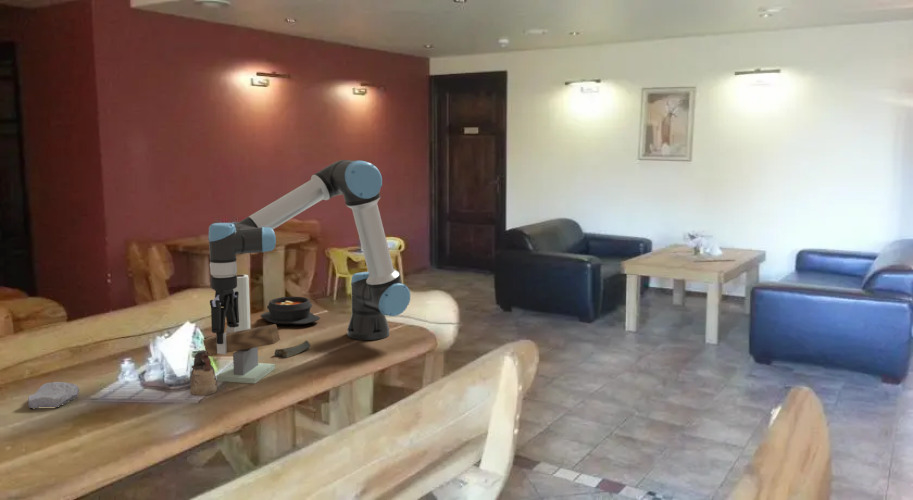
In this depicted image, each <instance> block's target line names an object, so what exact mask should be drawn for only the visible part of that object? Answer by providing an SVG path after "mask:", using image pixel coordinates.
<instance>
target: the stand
mask: <svg viewBox="0 0 913 500" xmlns="http://www.w3.org/2000/svg"><path fill="white" fill-rule="evenodd" d="M258 349H259V347H255V348H250V349H245V350H239V351H234V352H232V353H233V354H232V357H233V359H232V360H233V362H232V363H233V365H231V366H229V367H227V368H226V369H225V370H223V371H222V372H220V373H219V374H217V375H215V376H216V381H217V382H226V383H228V382H229V383H240V384H241V383H242V384H243V383H244V384H257V383H258V382H259V381H261V380H262V379H263V378H264V377H266V376H267V375H268V374H270V373H271V372H272V371H274V370H275V369H276V366H275V365H276V364H275V363H264V362H259V351H258Z"/></svg>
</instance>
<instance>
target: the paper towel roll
mask: <svg viewBox="0 0 913 500" xmlns="http://www.w3.org/2000/svg"><path fill="white" fill-rule="evenodd" d="M235 275H236V276H237V287H236V288H235V289H233V290H234V291H237V292H239V295H238V307H239V323H237V324H239V326H238V327H235V331H236V332H237V331H242V330H247V329H251V310H250V309H251V307H250V306H251V304H250V284H249V283H250V281H249V280H250V278H249V275H248V274H241V273H240V274H235ZM226 327H229V326H228V325H227V324H226Z"/></svg>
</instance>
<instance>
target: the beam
mask: <svg viewBox="0 0 913 500" xmlns="http://www.w3.org/2000/svg"><path fill="white" fill-rule="evenodd" d="M225 333H226V332H225ZM279 341H281V338H280V335H279V330H278V327H277V324H276V323H273V324H269V325H263V326H258V327H254V328H253V327H252V328H250V329H247V330H242V331H237V332H231V333H226V344H227V354H229V353H235V352H236V351H239V350H245V349H250V348H255V347H258V348H260V347H266V346H270V345H274V344H276V343H278V342H279ZM202 342H203V345H204V350H205V351H207V352H209V355H208V357H212V356H217V355H219V354H217V336H216V335H212V336H209V337H207V338H205V339H203V340H202Z"/></svg>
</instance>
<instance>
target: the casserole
mask: <svg viewBox="0 0 913 500" xmlns="http://www.w3.org/2000/svg"><path fill="white" fill-rule="evenodd" d="M312 306H313V304H312V303H311V300H310V299H309V298H307V297H303V296H281V297H276V298H274V299H271V300H270V301H269V303H268V305H267V306H266V307H267V310H268V311H267V312H264V313H261V314H260V317H261V318H262V319H265V321H267V322H270V323H273V324H276V325H281V326H295V325H307V324H311V323H314V322H317V321H319V320H320V319H321V317H320V316H317V315H315V314H314V313H312V312H311V308H312Z"/></svg>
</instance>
